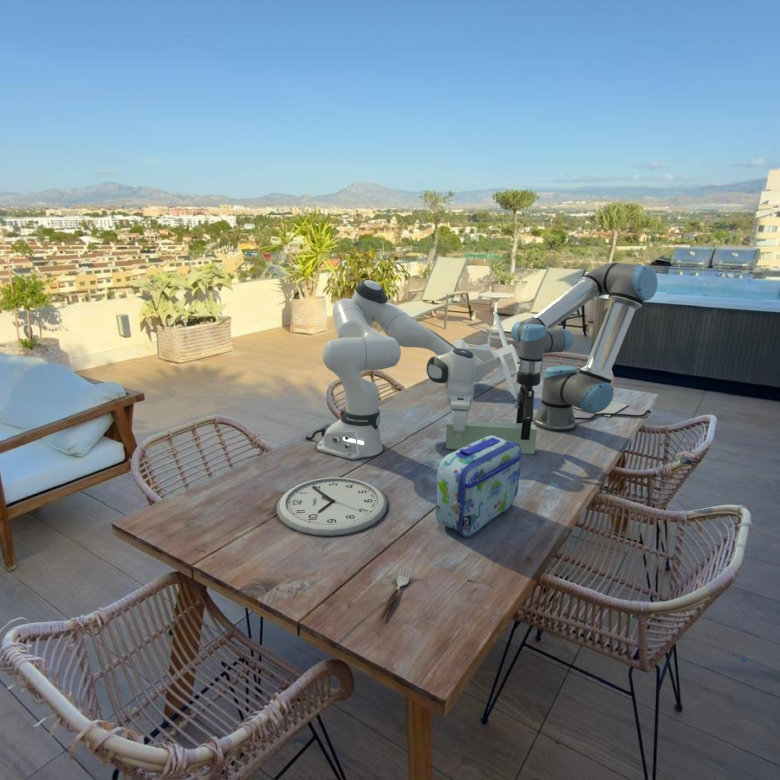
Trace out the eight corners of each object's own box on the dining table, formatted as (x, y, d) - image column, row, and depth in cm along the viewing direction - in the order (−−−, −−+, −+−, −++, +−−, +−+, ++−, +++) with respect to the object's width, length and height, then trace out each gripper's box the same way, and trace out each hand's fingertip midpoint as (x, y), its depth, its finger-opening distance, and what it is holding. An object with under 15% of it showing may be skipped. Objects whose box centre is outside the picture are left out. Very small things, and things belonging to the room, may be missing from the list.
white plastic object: (461, 429, 252) (437, 405, 227) (444, 352, 274) (420, 323, 250) (535, 404, 240) (518, 377, 215) (510, 326, 262) (492, 293, 237)
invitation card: (608, 416, 214) (573, 407, 224) (608, 416, 214) (573, 408, 224) (628, 404, 229) (594, 396, 238) (628, 405, 229) (594, 397, 238)
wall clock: (392, 527, 129) (268, 531, 127) (391, 533, 130) (269, 537, 127) (383, 473, 158) (282, 475, 155) (383, 478, 158) (282, 480, 156)
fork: (375, 618, 102) (375, 610, 101) (401, 570, 116) (402, 563, 115) (388, 622, 101) (388, 613, 100) (413, 573, 115) (413, 565, 114)
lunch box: (462, 546, 125) (467, 466, 119) (428, 528, 132) (432, 452, 126) (521, 508, 143) (529, 437, 136) (489, 494, 150) (494, 425, 144)
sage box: (532, 448, 182) (534, 424, 180) (534, 454, 178) (536, 429, 175) (445, 442, 186) (447, 419, 183) (445, 448, 181) (446, 424, 178)
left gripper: (451, 387, 187) (449, 423, 192) (450, 405, 168) (448, 445, 172) (468, 388, 187) (466, 424, 191) (470, 407, 167) (467, 446, 172)
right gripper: (513, 362, 184) (507, 418, 190) (522, 381, 160) (515, 445, 167) (535, 363, 183) (528, 420, 190) (547, 382, 160) (539, 447, 166)
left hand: (457, 434), depth 181 cm, fingers closed on sage box, 5 cm apart
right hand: (522, 432), depth 178 cm, fingers open, 13 cm apart
